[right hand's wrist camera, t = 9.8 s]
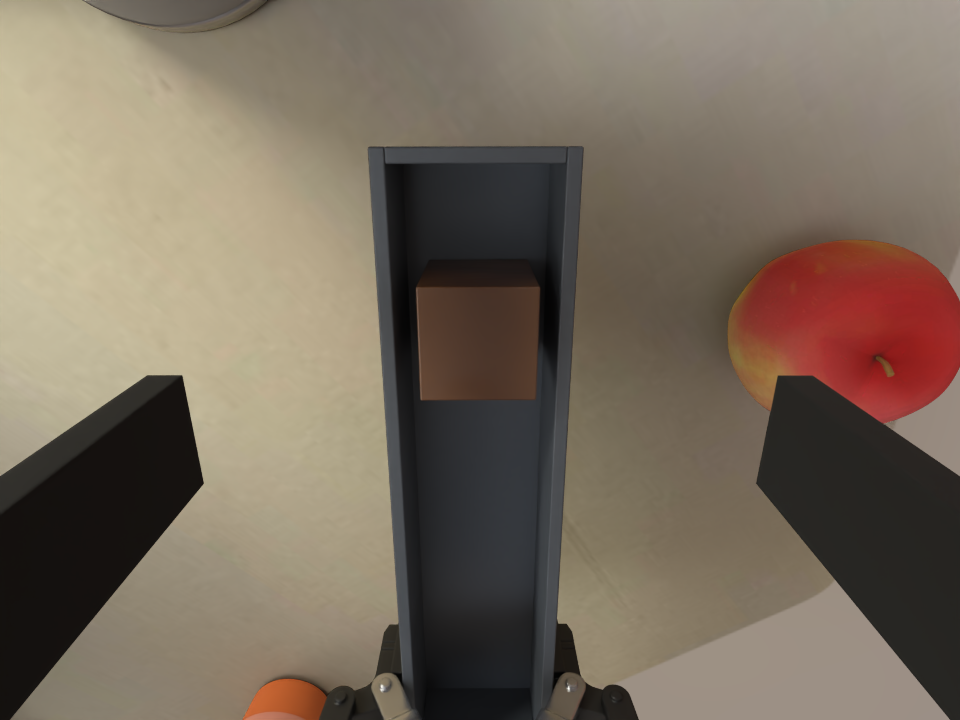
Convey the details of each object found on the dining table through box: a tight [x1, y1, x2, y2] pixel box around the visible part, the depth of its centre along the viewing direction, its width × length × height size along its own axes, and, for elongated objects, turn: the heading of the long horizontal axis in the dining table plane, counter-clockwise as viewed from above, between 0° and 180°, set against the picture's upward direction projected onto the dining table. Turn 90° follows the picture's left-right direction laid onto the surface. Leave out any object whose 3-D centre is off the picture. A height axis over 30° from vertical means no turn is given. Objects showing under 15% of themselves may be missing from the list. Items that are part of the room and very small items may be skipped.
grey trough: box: [368, 146, 584, 720], centre depth 24 cm, size 7×28×5 cm, turn 0°
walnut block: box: [416, 259, 540, 400], centre depth 21 cm, size 4×4×5 cm
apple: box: [728, 240, 960, 423], centre depth 29 cm, size 10×10×10 cm
